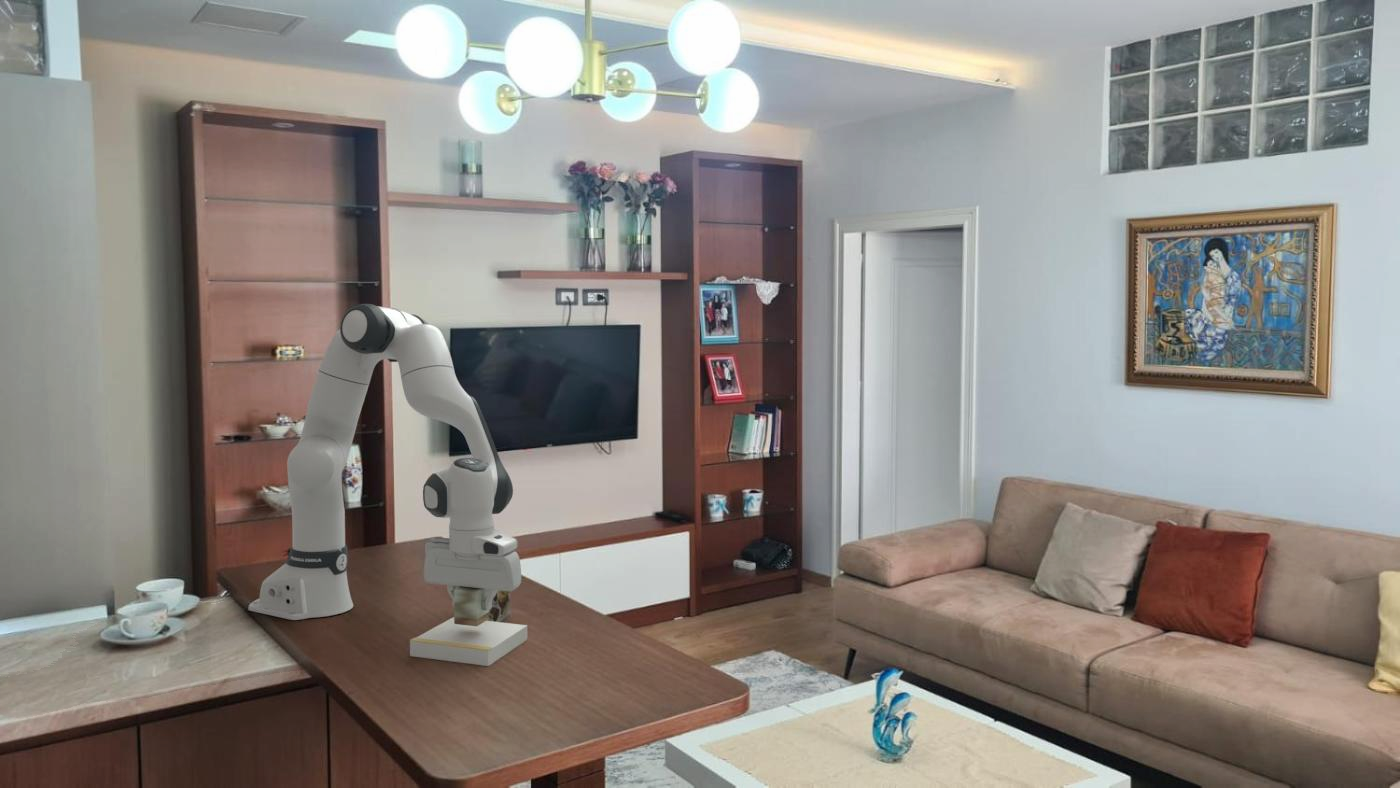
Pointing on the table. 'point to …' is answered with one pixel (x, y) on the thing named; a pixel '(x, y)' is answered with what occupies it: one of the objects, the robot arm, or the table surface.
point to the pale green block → (469, 606)
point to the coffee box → (500, 606)
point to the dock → (469, 642)
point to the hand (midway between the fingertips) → (472, 608)
